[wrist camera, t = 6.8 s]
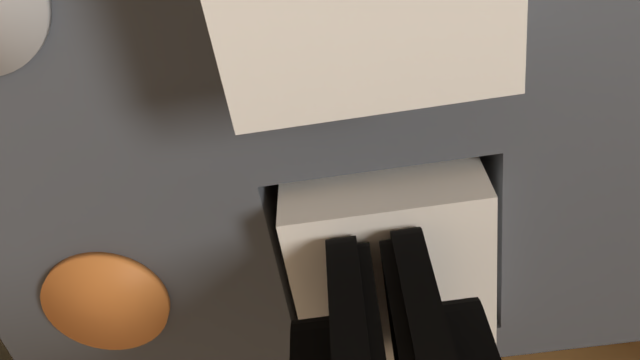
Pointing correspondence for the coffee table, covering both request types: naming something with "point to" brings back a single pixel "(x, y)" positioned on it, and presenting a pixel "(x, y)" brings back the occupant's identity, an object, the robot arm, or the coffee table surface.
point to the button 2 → (394, 214)
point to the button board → (285, 167)
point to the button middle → (362, 56)
